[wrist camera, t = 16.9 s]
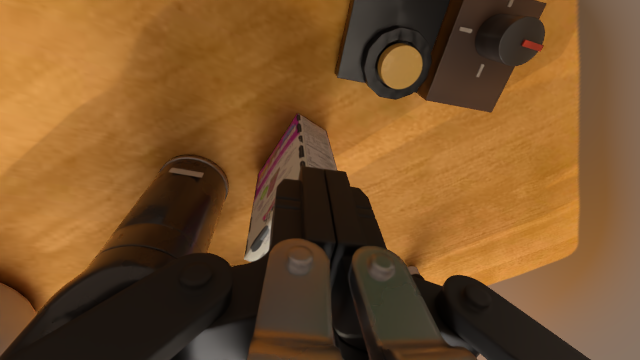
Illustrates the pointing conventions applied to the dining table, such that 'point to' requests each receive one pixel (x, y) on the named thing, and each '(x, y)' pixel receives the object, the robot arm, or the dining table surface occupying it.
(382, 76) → the button
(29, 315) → the chamber pot
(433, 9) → the lamp base
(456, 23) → the dimmer panel
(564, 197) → the dining table surface
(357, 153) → the dining table surface
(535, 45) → the dimmer knob
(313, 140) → the candy bar box
